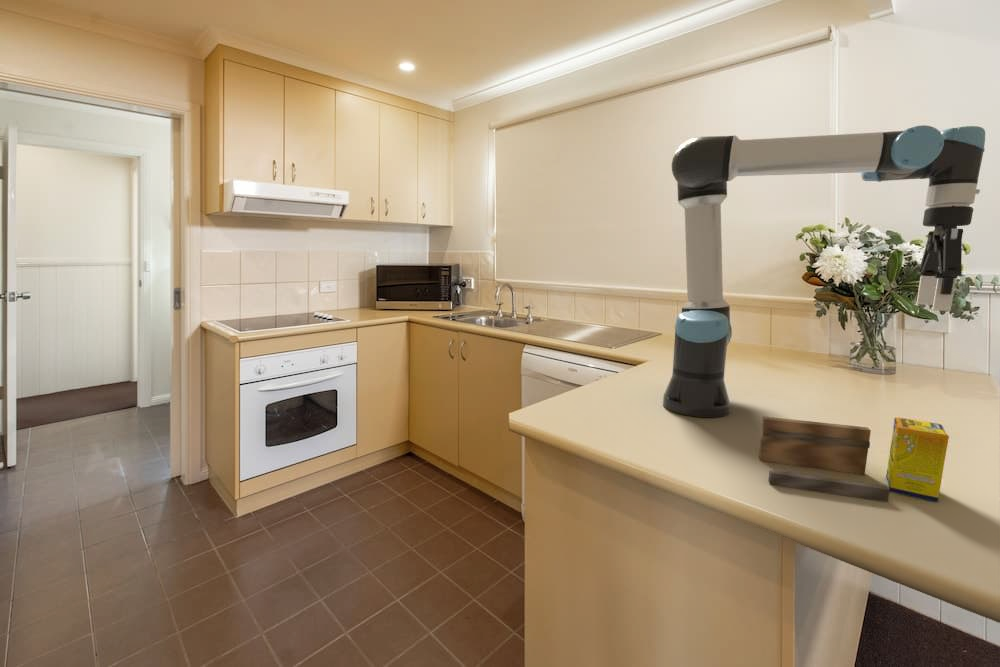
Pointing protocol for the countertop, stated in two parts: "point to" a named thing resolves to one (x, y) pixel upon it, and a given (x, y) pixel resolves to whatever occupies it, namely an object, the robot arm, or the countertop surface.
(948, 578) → the countertop surface
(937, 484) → the supplement box
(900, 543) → the countertop surface
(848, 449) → the wooden rack
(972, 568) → the countertop surface
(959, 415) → the countertop surface
